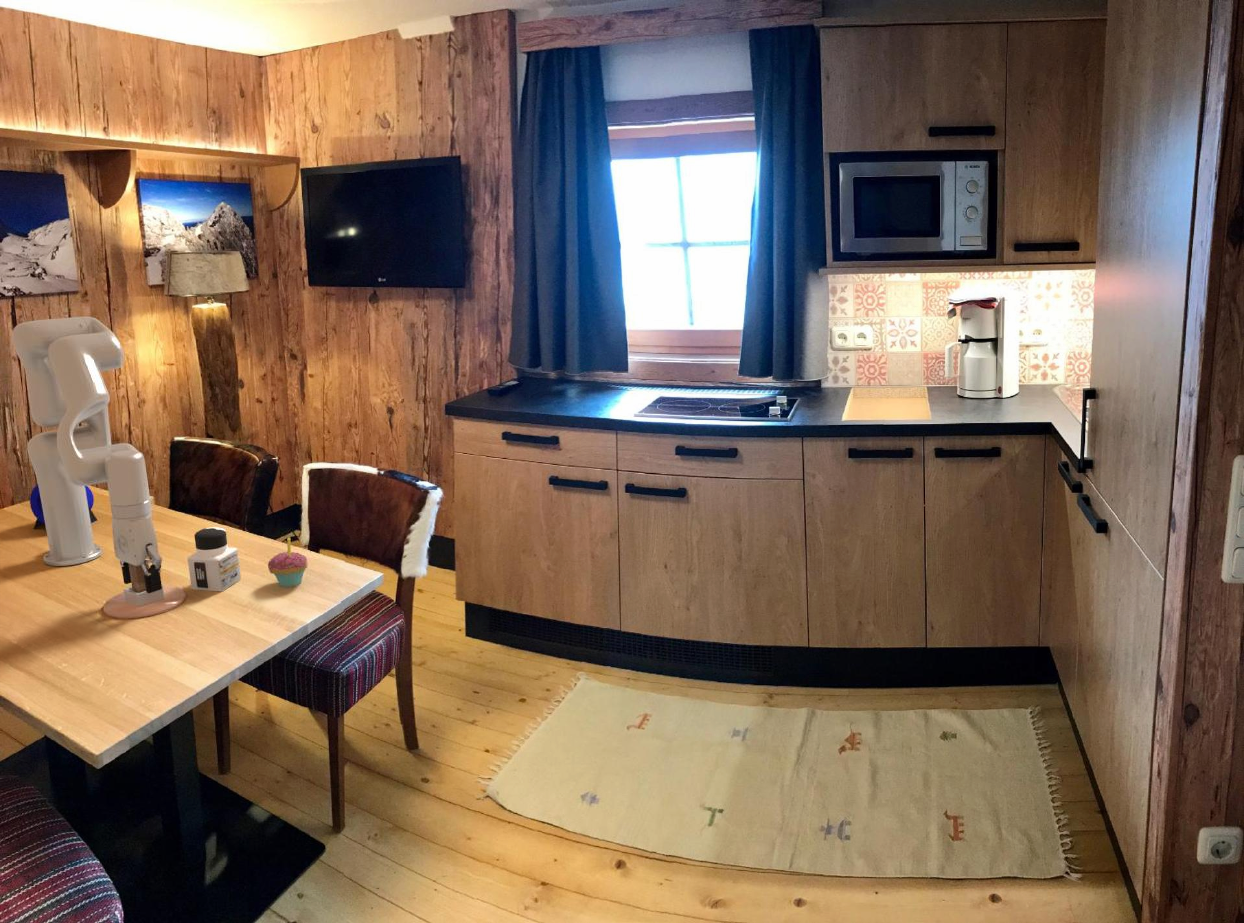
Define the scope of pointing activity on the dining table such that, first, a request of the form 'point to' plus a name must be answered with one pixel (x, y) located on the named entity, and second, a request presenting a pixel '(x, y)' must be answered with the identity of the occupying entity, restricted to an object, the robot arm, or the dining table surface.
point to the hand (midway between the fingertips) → (142, 586)
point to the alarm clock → (38, 510)
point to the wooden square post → (137, 578)
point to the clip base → (144, 602)
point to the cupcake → (288, 567)
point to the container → (213, 561)
